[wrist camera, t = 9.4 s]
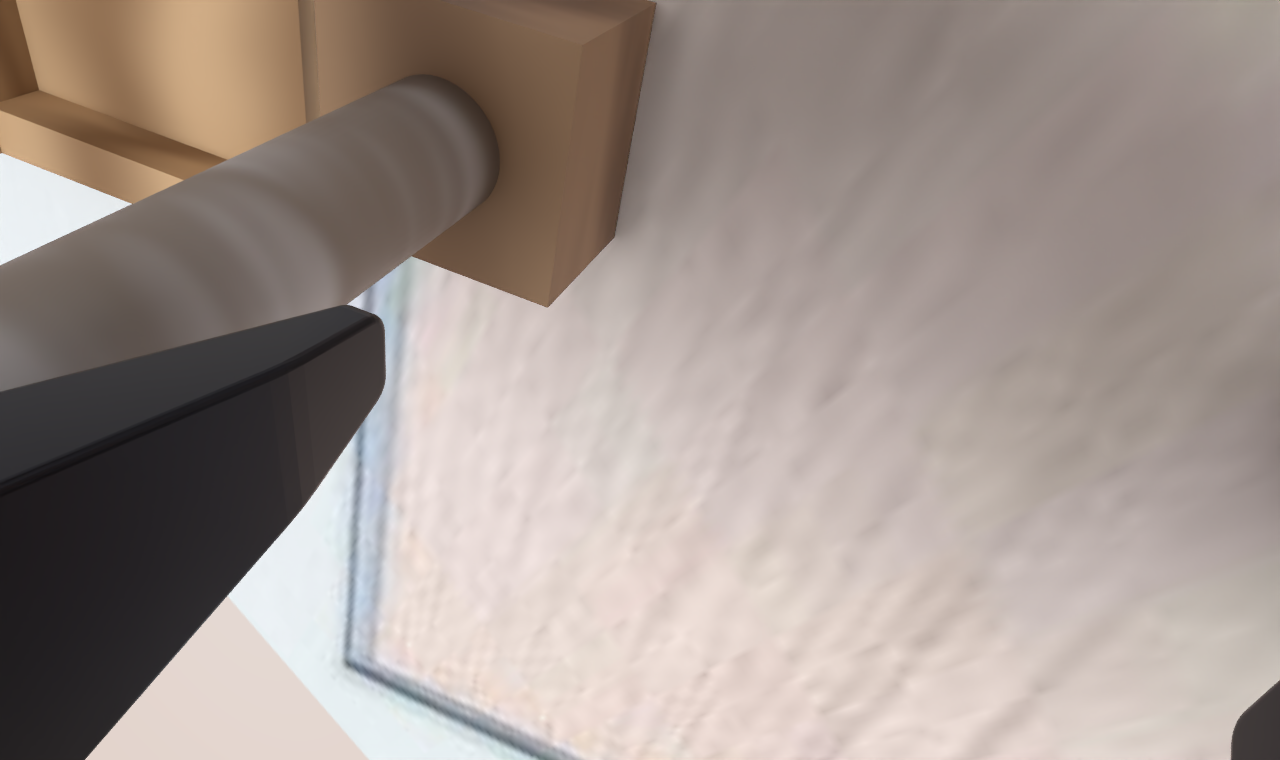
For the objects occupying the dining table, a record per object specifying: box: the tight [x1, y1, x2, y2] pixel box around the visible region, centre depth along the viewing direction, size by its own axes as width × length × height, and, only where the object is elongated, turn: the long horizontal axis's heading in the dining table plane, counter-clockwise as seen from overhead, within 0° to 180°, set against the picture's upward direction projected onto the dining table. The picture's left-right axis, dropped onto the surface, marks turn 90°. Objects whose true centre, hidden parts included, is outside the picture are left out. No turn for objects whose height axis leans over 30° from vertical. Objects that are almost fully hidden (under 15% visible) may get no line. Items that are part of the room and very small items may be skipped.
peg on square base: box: [0, 0, 656, 391], centre depth 16 cm, size 6×6×15 cm
